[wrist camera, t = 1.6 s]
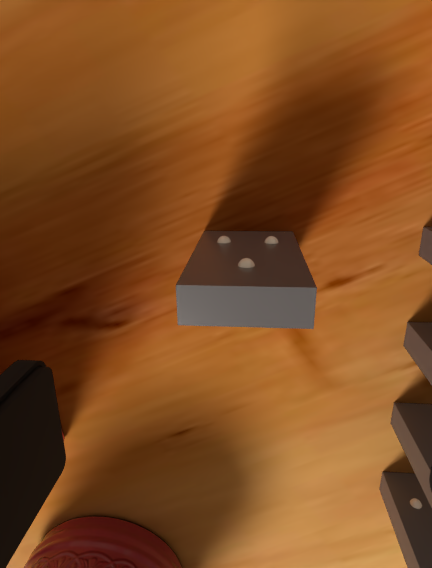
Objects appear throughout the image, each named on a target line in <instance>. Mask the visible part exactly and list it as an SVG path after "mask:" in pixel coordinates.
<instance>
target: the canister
mask: <svg viewBox="0 0 432 568" xmlns="http://www.w3.org/2000/svg"><path fill="white" fill-rule="evenodd" d="M24 568H182V566H181V564H180V562H179V560H178V558H177V556H176V555H175V553H174V552H173V551H172V550H171V548H170V547H169V546H168V545H167V544H166V543H165V542H163V541H162V540H161V539H160V538H159V537H157V536H156V535H154V534H153V533H151V532H150V531H148V530H146V529H144V528H142V527H140V526H138V525H136V524H133V523H130V522H127V521H124V520H120V519H115V518H110V517H82V518H76V519H72V520H69V521H66V522H64V523H61V524H59V525H58V526H56V527H54V528H53V529H52V530H51V531H49V532H48V533H47V535H46V536H45V537H44V538H43V540H42V541H41V543H40V544H39V545H38V546H37V547H36V548H35V549H34V551H33V552H32V554H31V555H30V557H29V560H28V562H27V563H26V564H25V566H24Z"/></svg>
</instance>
